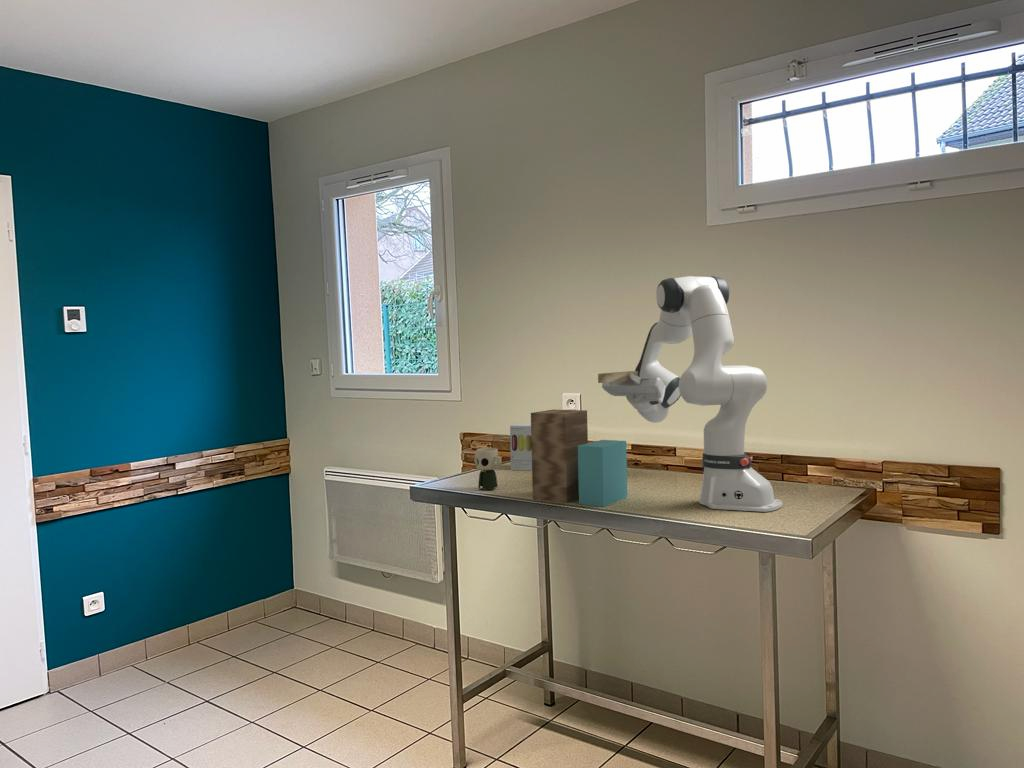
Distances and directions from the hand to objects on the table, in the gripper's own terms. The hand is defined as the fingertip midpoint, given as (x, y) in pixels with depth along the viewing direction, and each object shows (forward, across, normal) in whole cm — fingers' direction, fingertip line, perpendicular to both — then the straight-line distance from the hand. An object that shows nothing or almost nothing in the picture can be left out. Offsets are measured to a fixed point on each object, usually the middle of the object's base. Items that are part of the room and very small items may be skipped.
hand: (623, 374), depth 247 cm
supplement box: (-34, -51, +22) cm, 65 cm away
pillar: (+2, -10, +43) cm, 44 cm away
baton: (+2, 0, +3) cm, 4 cm away
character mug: (+2, -38, +43) cm, 57 cm away
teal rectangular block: (+1, +4, +42) cm, 43 cm away
